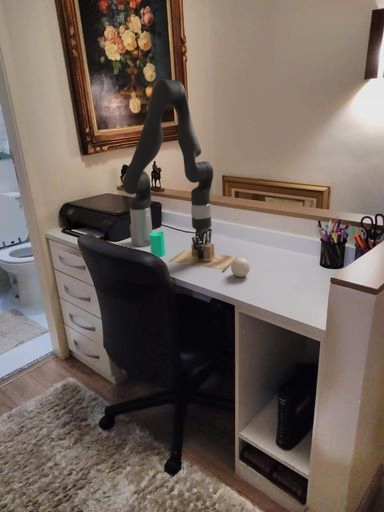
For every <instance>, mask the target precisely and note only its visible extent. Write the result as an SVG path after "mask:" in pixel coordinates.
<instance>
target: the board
mask: <svg viewBox="0 0 384 512" xmlns="http://www.w3.org/2000/svg"><path fill="white" fill-rule="evenodd" d="M235 259H237V256H235V255H224V254H218V253H214V259H213V260H212V261H203V260H195V259H192V250H185V249H184V250H182V251H181V252H180V253H177V255H175V256H173V258H171V259H170V260H168V263H175V264H181V265H188V266H194V267H195V266H196V267H203V268H208V269H209V268H210V269H216V270H217V269H218V270H222V271H221V273H225V272H226V271H228V269H229V268H231V264H232V262H233V261H234V260H235Z"/></svg>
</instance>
